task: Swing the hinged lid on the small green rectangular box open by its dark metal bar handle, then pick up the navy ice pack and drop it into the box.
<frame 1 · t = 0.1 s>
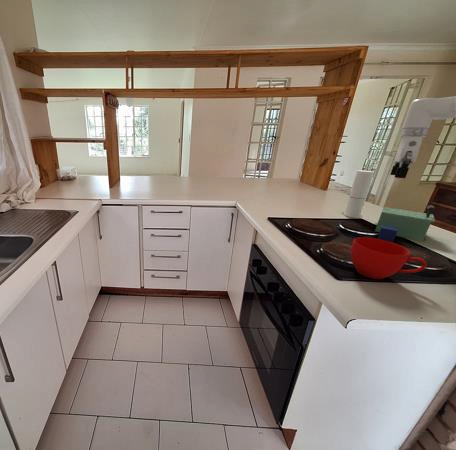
hand: (397, 176, 100), 26 cm above the worktop, tool pointing down, fingers open, 9 cm apart
cylindrical container: (351, 216, 134), on the worktop
ice pack: (385, 238, 103), on the worktop
freezer lid: (408, 209, 106), point 12 cm above the worktop, hinge at 0.0°
ceramic cup: (377, 276, 74), on the worktop
green rectangular box: (397, 232, 110), on the worktop
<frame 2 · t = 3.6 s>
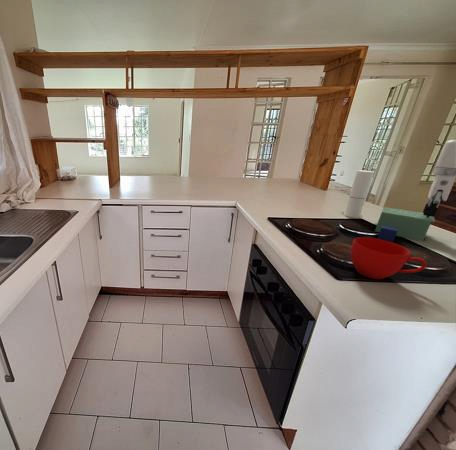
hand: (428, 214, 102), 11 cm above the worktop, tool pointing down, fingers closed on freezer lid, 5 cm apart
freezer lid: (408, 209, 106), point 12 cm above the worktop, hinge at 0.0°, touching gripper
everything else where it was.
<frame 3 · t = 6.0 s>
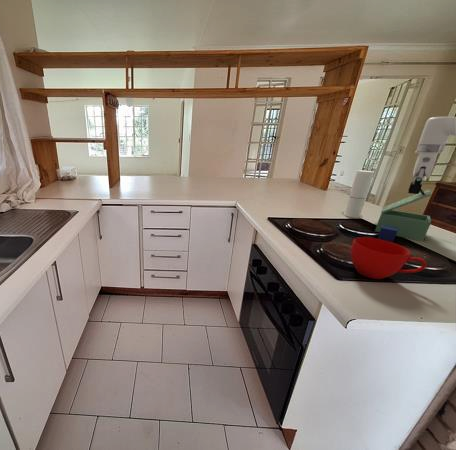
hand: (413, 192, 103), 19 cm above the worktop, tool pointing down, fingers closed on freezer lid, 5 cm apart
freezer lid: (402, 197, 106), point 16 cm above the worktop, hinge at 41.0°, touching gripper
everything else where it was.
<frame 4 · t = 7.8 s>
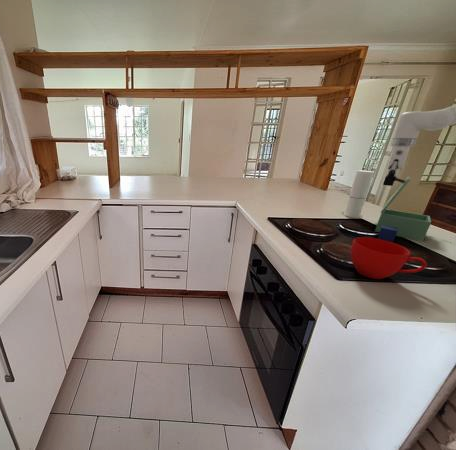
hand: (388, 184, 108), 21 cm above the worktop, tool pointing down, fingers closed on freezer lid, 5 cm apart
freezer lid: (389, 192, 109), point 18 cm above the worktop, hinge at 73.9°, touching gripper
everything else where it was.
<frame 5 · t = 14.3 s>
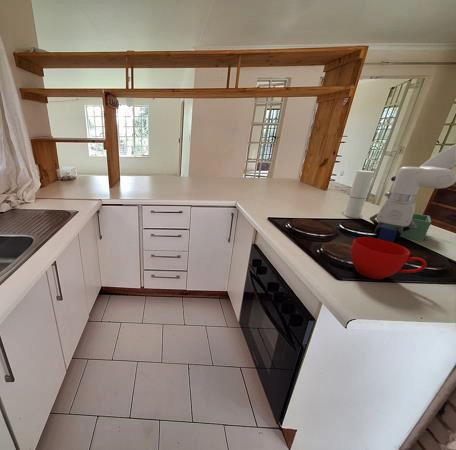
hand: (385, 237, 103), 0 cm above the worktop, tool pointing down, fingers closed on ice pack, 5 cm apart
ice pack: (385, 238, 103), on the worktop, touching gripper
freezer lid: (389, 192, 109), point 18 cm above the worktop, hinge at 74.3°
everything else where it was.
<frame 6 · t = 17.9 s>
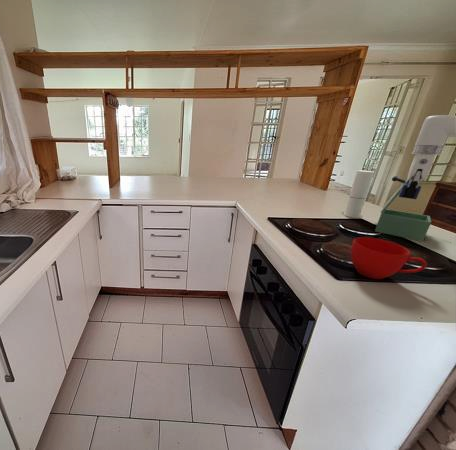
hand: (407, 196, 97), 19 cm above the worktop, tool pointing down, fingers closed on ice pack, 4 cm apart
ice pack: (407, 197, 97), point 19 cm above the worktop, touching gripper
freezer lid: (389, 192, 109), point 18 cm above the worktop, hinge at 73.0°, touching gripper
everything else where it was.
when the fingers open (19 cm above the worktop, at t = 18.4 s): ice pack drops 17 cm, resting on green rectangular box.
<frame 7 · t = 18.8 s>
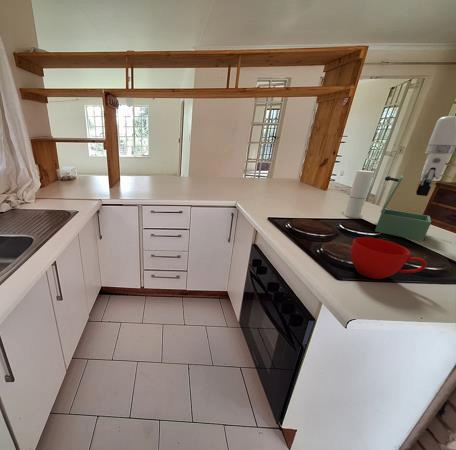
hand: (421, 194, 100), 19 cm above the worktop, tool pointing down, fingers open, 4 cm apart
ice pack: (393, 228, 109), point 2 cm above the worktop, tilted 27°, touching green rectangular box
freezer lid: (385, 192, 110), point 18 cm above the worktop, hinge at 82.0°
everything else where it was.
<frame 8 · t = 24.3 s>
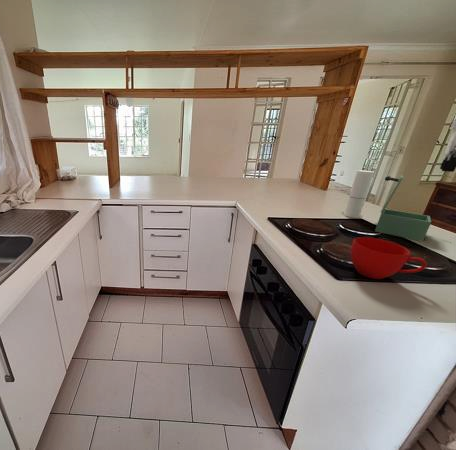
hand: (446, 170, 96), 29 cm above the worktop, tool pointing down, fingers open, 9 cm apart
ice pack: (392, 231, 109), point 1 cm above the worktop, touching green rectangular box
everything else where it was.
at the end: freezer lid at +82° (first picture: +0°); ice pack inside the target area in the green rectangular box (3.5 cm from its centre), point 0.8 cm above the green rectangular box's base; the gripper is holding nothing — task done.
